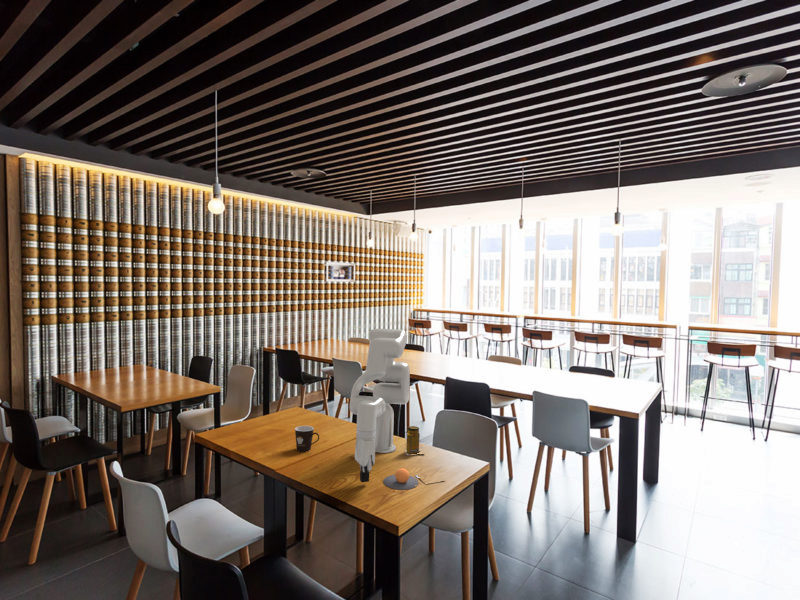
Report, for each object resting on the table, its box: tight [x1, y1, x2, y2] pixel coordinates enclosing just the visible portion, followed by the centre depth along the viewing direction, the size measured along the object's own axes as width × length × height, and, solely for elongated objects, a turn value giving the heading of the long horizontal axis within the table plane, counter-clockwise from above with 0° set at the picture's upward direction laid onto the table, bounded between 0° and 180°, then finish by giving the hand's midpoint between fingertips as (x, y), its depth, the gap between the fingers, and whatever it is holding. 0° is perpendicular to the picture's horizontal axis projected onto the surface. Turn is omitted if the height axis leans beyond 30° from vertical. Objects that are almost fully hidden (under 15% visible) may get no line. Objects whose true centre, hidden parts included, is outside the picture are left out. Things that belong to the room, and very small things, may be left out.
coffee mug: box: [294, 425, 320, 453], centre depth 202 cm, size 12×9×10 cm
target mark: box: [383, 474, 420, 491], centre depth 170 cm, size 14×14×1 cm
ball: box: [394, 467, 410, 483], centre depth 170 cm, size 6×6×6 cm
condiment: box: [404, 425, 420, 456], centre depth 204 cm, size 7×8×12 cm
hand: (364, 481), depth 166 cm, fingers closed
